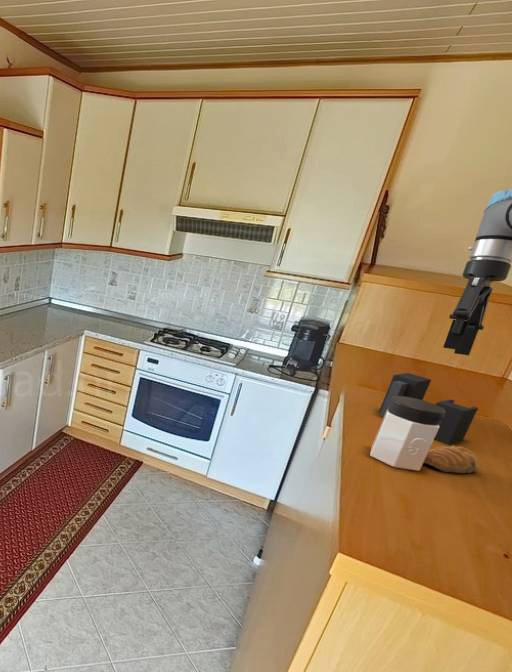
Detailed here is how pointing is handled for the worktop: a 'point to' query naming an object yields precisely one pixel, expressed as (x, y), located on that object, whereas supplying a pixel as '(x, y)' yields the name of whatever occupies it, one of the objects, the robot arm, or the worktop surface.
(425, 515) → the worktop surface
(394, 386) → the block
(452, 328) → the robot arm
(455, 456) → the pastry
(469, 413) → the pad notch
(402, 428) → the jar
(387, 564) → the worktop surface
